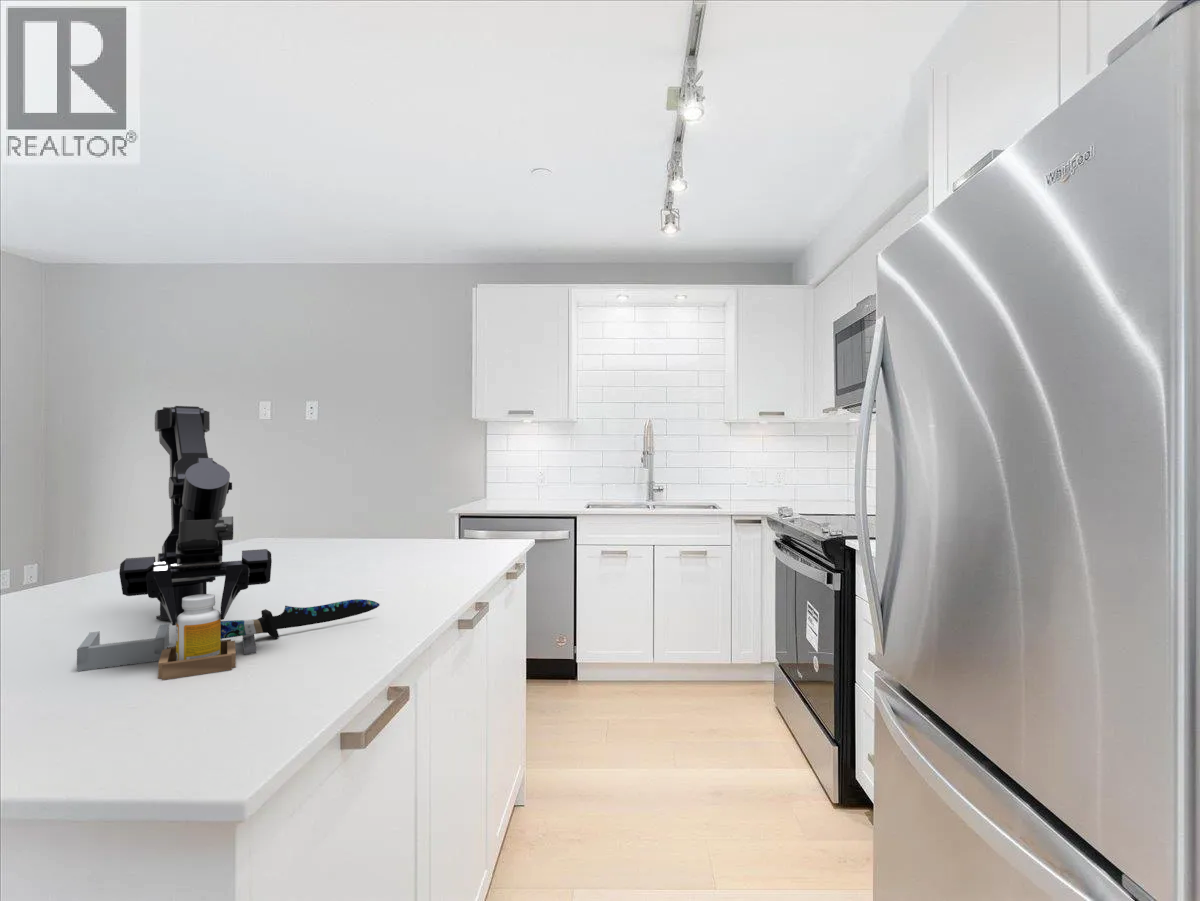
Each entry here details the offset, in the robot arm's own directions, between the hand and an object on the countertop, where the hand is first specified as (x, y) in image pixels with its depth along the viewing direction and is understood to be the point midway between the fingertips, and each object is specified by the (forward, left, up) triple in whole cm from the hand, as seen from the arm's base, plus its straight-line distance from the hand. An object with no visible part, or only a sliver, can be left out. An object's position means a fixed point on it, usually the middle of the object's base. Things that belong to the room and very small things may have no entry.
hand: (198, 620), depth 91 cm
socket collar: (-1, -1, -7) cm, 7 cm away
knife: (-18, -2, -7) cm, 19 cm away
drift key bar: (-10, -2, -7) cm, 12 cm away
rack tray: (0, -15, -7) cm, 16 cm away
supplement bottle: (-1, -1, -7) cm, 7 cm away
